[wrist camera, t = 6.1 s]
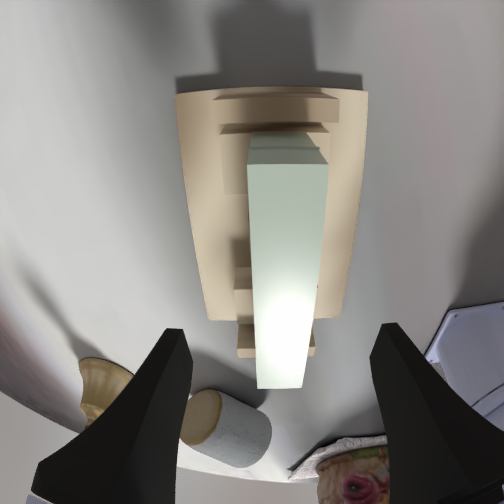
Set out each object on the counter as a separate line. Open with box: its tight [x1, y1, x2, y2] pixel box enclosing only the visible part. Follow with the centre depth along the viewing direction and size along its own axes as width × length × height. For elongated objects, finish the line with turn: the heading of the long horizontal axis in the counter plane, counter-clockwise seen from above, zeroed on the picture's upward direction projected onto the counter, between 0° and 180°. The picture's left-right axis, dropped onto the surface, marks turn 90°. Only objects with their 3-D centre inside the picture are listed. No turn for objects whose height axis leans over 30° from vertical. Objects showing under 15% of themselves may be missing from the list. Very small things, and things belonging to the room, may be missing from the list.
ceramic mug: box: [180, 389, 272, 468], centre depth 29 cm, size 11×8×8 cm
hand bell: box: [79, 358, 133, 429], centre depth 24 cm, size 8×8×16 cm
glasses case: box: [247, 131, 329, 389], centre depth 14 cm, size 2×12×5 cm, turn 2°
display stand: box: [174, 86, 368, 358], centre depth 17 cm, size 10×16×4 cm, turn 3°
